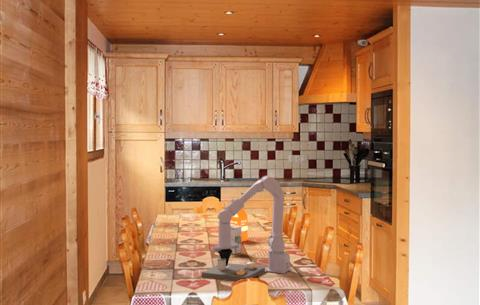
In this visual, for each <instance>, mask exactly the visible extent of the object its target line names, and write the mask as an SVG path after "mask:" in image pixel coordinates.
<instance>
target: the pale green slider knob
mask: <svg viewBox="0 0 480 305" xmlns="http://www.w3.org/2000/svg"><path fill="white" fill-rule="evenodd" d="M216 260H217V265H218V269H219V270H225V269H226V259H222V258H221V257H219V258H217V259H216Z"/></svg>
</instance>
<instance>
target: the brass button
mask: <svg viewBox="0 0 480 305" xmlns="http://www.w3.org/2000/svg"><path fill="white" fill-rule="evenodd" d="M236 275H242V276H244V275H245V270H236Z"/></svg>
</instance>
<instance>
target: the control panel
mask: <svg viewBox="0 0 480 305" xmlns="http://www.w3.org/2000/svg"><path fill="white" fill-rule="evenodd" d="M236 270H245V275H244V276H242V275H236ZM265 270H266V267H264V266H256V265H255V270H247V269H246V264H239V263H230V262H228V265H227V266H226V269H225V270H219V269H218V264H217V265H215V266H213V267H210V268H207V269H206V270H204V271H202V272H201V277H202V278H210V279H217V280H225V281H234V282H238V281H237V280H240V279H246V278H250V277H255V278H256V277H257V276H260V275H261V274H264V273H265V272H266V271H265Z"/></svg>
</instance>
